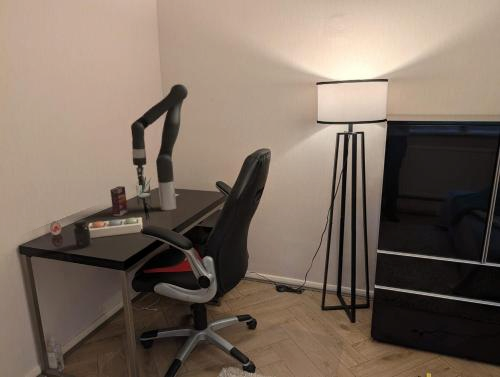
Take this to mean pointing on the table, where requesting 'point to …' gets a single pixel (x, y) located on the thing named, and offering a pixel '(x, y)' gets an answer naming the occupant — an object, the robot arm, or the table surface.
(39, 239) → the table surface
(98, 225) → the button terracotta
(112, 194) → the supplement box
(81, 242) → the supplement bottle
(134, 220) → the button sage
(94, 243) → the table surface
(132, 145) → the robot arm
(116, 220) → the button slate
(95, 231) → the button box
